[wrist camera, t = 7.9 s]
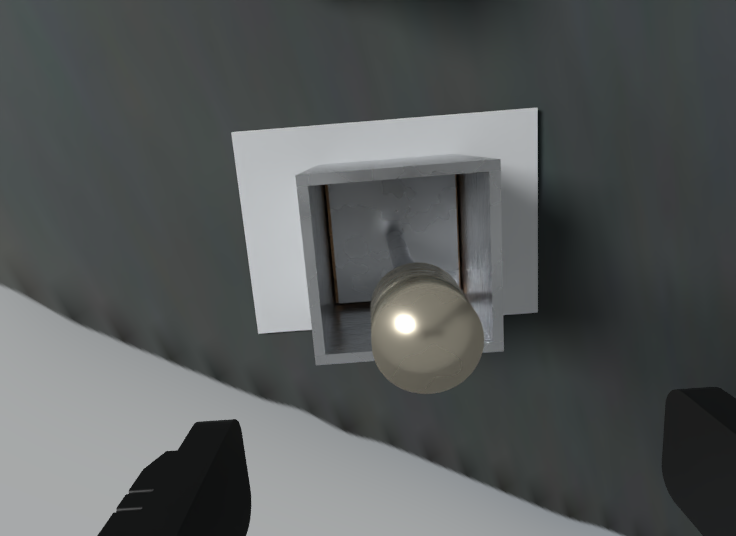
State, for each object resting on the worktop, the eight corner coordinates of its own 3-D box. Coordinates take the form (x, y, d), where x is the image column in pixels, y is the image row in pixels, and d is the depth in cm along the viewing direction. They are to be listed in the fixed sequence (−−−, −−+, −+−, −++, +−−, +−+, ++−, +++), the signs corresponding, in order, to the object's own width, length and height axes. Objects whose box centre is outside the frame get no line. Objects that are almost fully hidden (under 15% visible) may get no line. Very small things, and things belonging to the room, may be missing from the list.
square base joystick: (454, 153, 34) (500, 159, 23) (459, 284, 36) (503, 351, 25) (318, 164, 34) (295, 175, 23) (331, 294, 37) (315, 365, 25)
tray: (534, 108, 34) (537, 107, 34) (535, 309, 38) (537, 312, 37) (233, 132, 34) (231, 132, 34) (260, 330, 38) (258, 333, 37)
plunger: (453, 171, 30) (557, 203, 14) (457, 291, 32) (555, 447, 16) (328, 181, 30) (284, 225, 14) (339, 300, 32) (312, 465, 16)
